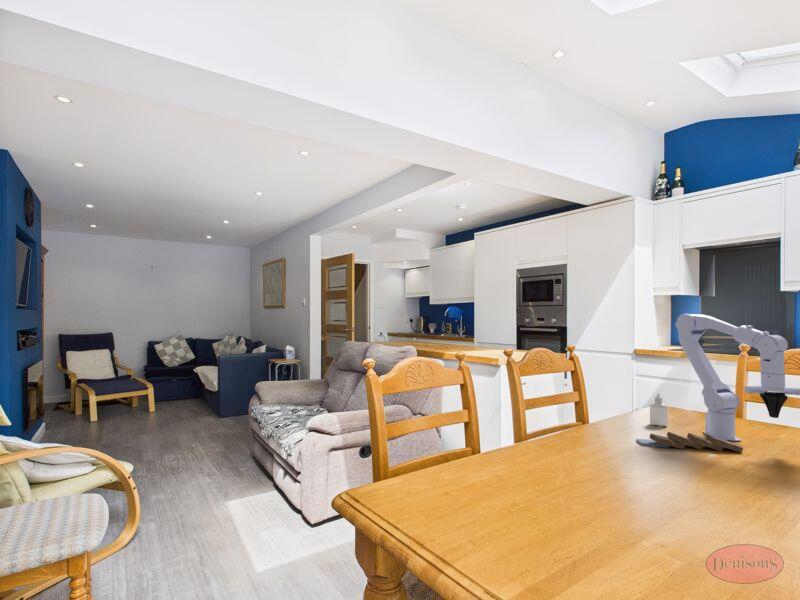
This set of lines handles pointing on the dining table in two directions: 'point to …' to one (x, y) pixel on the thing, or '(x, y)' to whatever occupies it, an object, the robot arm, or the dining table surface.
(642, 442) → the domino
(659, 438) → the domino
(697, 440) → the domino
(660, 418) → the eye dropper bottle
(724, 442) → the domino
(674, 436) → the domino
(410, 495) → the dining table surface
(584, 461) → the dining table surface
